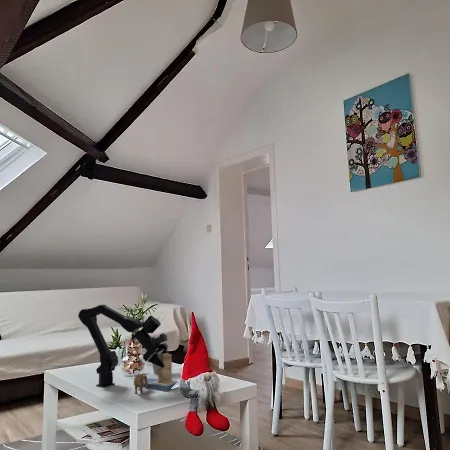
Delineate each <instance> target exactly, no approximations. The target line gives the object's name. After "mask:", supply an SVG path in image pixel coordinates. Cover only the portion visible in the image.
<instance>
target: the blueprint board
mask: <svg viewBox="0 0 450 450" xmlns="http://www.w3.org/2000/svg"><path fill="white" fill-rule="evenodd" d="M156 381H158V378H153V377H152V378H151V377H147V382H148V389H150V390H151V389H152V390H157V391H162V392H170V391H172V390H171V388H172V387H173V386H174V385H175V384H176V383H175V384H172V385H169V386H166V387H165V386H160V385H154V384H153V382H156ZM144 384H145V382H144V383H143V388H144V389H146V385H145V387H144Z"/></svg>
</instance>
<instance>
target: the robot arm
mask: <svg viewBox="0 0 450 450" xmlns="http://www.w3.org/2000/svg"><path fill="white" fill-rule="evenodd" d="M99 315H103V316H105V317H107V318H108V319H110V320H112V321H114V322H115V323H116V324H119V325H120V326H121V327H122V329H124V330H125V331H126V332H127V333H132V334H131V338H130V341H135V340H137V341H138V343H139V344H140V345H141V349H145V352H144V354H143V355H142V359H143V361H145V362H147V363H150V364H152V363H153V364H155V365H158V366H160V367H162V368H164V367H165V365H164V364H163V362H162V361H161V359H160V358H159V356H158V355H160V354H169V352H168V350H169V345H168V344H167V341H168V335H167V334H165V333H164V332H163V333H160V334H159V336H158V337H154V336H151V335H150V334H154V333H155V331H157V329H158V328H159V327H160V326H161V321H160V320H159V319H158V318H155V317H154V316H153V315H149V316H148V317H147V318H146V320H145V321H140V320H139V319H137V318H134V317H130V316H126V315H124V314H122V313H120V312H118V311H116V310H114V309H112V308H111V307H110V306H107V304H98V305H97V306H94V307H91V308H83V309H80V310H79V312H78V319H79V321H80V322H81V323H82V325H83V326H85V327H86V328H87V329H88V331H89V334H90V336H91V338H92V341H93V343H94V345H95V347H96V348H97V351H98V353H99V362H100V363H99V364H100V365H99V366H98V367H97V368H96V369H95V370H96V374H97V375H98V383H97V384H95V386H96V387H101V388H108V387H111V386H115V385H116V383H114V375H113V371H115V369H116V367H117V366H118V364H119V356H118V355H117V351H116V350H111V348H109V346H108V344H107V342H106V340H105V338H104V336H103V333H102V331H101V328H100V326H99V325H98V317H97V316H99ZM134 332H135V333H134Z"/></svg>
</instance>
